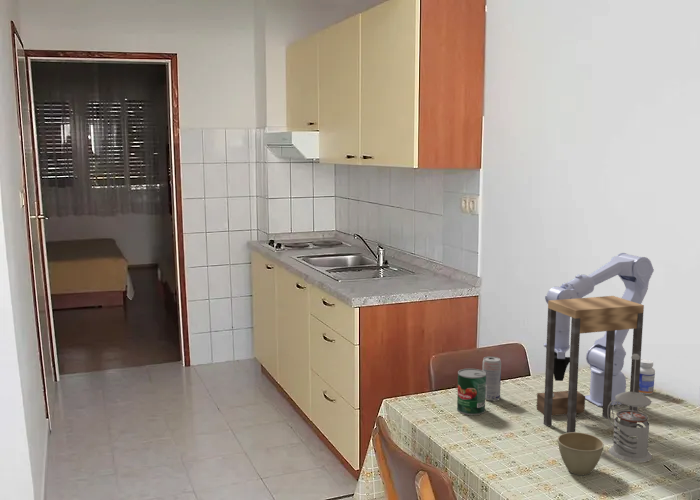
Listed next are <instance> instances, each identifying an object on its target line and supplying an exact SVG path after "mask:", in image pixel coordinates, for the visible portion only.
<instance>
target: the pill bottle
mask: <svg viewBox="0 0 700 500" xmlns="http://www.w3.org/2000/svg"><path fill="white" fill-rule="evenodd" d="M655 372H656V370H655V368H654V361H653V360H650V359H645V358H643V359H641V363H640V379H639V393H640V394H643V395H645V396H646V395H652V394H653V393H654V388H655V376H656V375H655V374H656V373H655Z"/></svg>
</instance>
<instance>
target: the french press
mask: <svg viewBox="0 0 700 500" xmlns="http://www.w3.org/2000/svg"><path fill="white" fill-rule="evenodd" d="M630 359H631V360H632V359H634V360H635V369H636V360H639V359H640V356H639V355H638V354H633V355H632V354H631V357H630ZM634 386H635V370H634ZM615 398H616V400H613V401H615V402H616V401H617V405H616V406H618V407H620V406H622V405H624V406H628V407H629V406H632V410H629V409H622V410H619V411H617V412H616V413H614V406H615V405H614V404H615V402H614V404H613V405H612V406H611V413H612V414H611V415H612V418H613V419H612V420H613V421H614V422H613V423H612V421H611V420H610V419H611V418H609V414H608V410H609V406H610V404H611V403H612V402H613V401H611V402H610V404H609V405H608V410H607V415H608V418H607V420H608V422H609V423H610V425H611V427H612V428H613V439H612V440H613V442H612V444H613V445H612V446H611V447H609V448H608V453H609V454H610V455H611V456H612V457H614V458H616V459H618V460H621V461H624V462H630V463H641V464H642V463H647V462H649V461H651V460H652V458H653V456H652V453H650V451H648V450H649V449H648V448H649V433H650V422H649V420H648V419H649V416H648V415H647V414H646V413H644V412H641V411H638V412H637V411H633V407H638V408H645V407H648V406H650V405H651V404H652V403H653V402H652V400H651V399H650V398H648V397H647V396H646V394H640V393H637V392H634V387H633V392H630V391H625V392H623V393H620V394H618V395H616V397H615ZM618 402H620V403H621V404H618ZM614 414H616V417H615V415H614ZM630 422H637V424H636V423H633V424H630ZM640 423H642V424H643V425H642V424H640ZM613 424H614V425H613ZM631 426H637V428H633V427H631ZM618 429H619V430H618ZM630 437H631V438H630Z"/></svg>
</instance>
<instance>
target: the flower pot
mask: <svg viewBox="0 0 700 500" xmlns="http://www.w3.org/2000/svg"><path fill="white" fill-rule="evenodd" d="M557 445H558V450H559V453H560V454H559V455H560V457H561V459H562V461H563V464H564V466H565V467H566V469H567V470H568V472H570V473H571V474H573V475H578V476H587V475H589V474H591V473H592V472H593V471H594V469H595V468H596V467H597V465H598V463H599V461H600V459H601V456H602V454H603V451H604V441H603V440H602V439H601V438H599V437H597V436H596V435H592V434H589V433H585V432H577V431H575V432H569V433H567V432H565V433H562V434H560V435H559V436H558V437H557Z"/></svg>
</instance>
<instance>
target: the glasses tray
mask: <svg viewBox="0 0 700 500" xmlns="http://www.w3.org/2000/svg"><path fill="white" fill-rule="evenodd" d="M585 396H586V395H584V394H583V393H581V392H580V391H578V390H577V406H576V414H583V413H585V410H586V409H585V407H586V406H585V405H586V399H585ZM544 398H545V392H538V393H537V394H536V411H538V412H539V413H540V414H542V415H543V416H544ZM567 412H568V390H562V391H560V390H559V391H553V402H552V416H560V415H561V416H562V415H567Z"/></svg>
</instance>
